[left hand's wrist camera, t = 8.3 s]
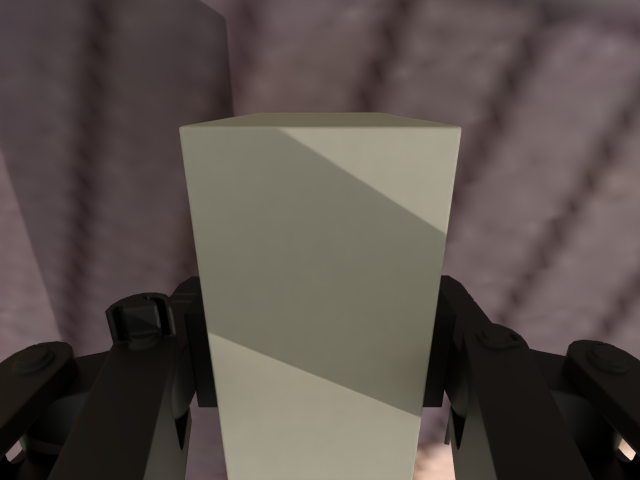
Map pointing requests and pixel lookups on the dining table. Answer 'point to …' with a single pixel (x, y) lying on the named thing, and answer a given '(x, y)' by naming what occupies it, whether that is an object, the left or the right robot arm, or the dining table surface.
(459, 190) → the dining table surface
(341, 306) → the post
